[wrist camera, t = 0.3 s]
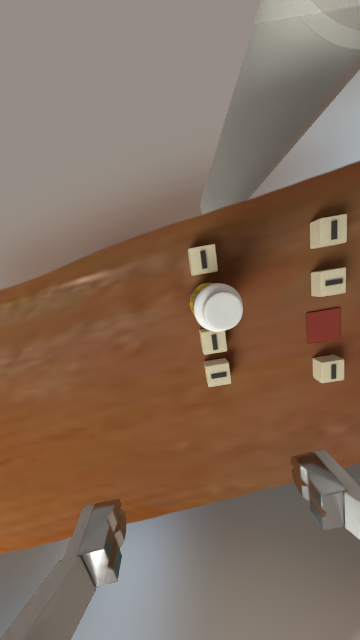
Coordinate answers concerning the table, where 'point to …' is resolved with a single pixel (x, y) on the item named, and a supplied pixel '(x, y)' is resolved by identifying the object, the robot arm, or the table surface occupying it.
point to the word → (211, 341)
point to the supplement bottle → (216, 306)
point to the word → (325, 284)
